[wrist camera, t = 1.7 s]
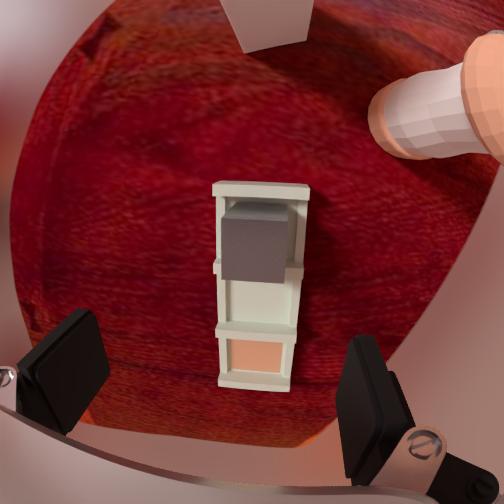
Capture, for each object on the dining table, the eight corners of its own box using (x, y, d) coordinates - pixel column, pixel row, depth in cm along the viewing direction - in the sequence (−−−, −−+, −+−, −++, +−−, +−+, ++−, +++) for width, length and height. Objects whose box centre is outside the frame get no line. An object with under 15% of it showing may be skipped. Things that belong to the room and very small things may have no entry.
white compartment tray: (307, 184, 27) (309, 188, 24) (289, 374, 34) (289, 392, 31) (220, 180, 27) (212, 184, 25) (223, 369, 34) (218, 386, 32)
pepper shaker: (426, 169, 25) (580, 210, 7) (359, 144, 25) (491, 139, 7) (440, 102, 22) (588, 77, 4) (375, 74, 22) (493, -14, 4)
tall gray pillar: (287, 203, 26) (288, 221, 20) (284, 252, 28) (284, 283, 21) (236, 201, 27) (220, 218, 20) (236, 249, 28) (221, 279, 22)
